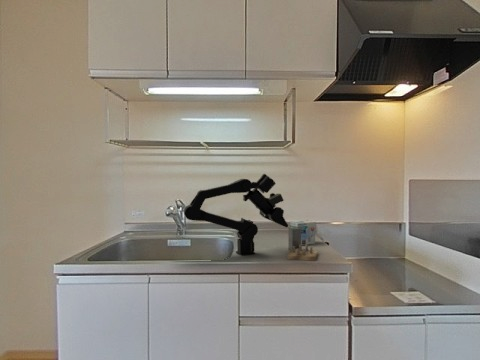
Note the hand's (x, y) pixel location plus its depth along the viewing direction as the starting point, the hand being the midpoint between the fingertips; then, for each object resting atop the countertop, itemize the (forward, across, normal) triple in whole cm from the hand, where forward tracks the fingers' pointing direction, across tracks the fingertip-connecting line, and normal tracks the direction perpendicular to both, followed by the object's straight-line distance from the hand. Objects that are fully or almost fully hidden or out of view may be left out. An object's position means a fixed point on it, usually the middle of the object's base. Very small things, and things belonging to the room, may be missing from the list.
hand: (283, 225), depth 163 cm
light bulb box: (+18, +13, -2) cm, 23 cm away
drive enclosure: (+12, 0, +5) cm, 13 cm away
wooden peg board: (+11, -12, +5) cm, 17 cm away
